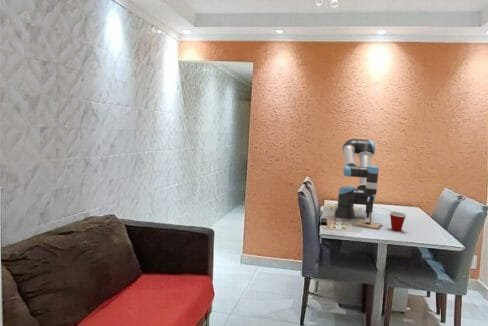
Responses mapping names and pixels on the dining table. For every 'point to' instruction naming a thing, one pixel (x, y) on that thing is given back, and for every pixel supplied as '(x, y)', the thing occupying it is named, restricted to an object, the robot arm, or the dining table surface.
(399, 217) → the plastic cup
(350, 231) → the dining table surface
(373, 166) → the robot arm
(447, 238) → the dining table surface
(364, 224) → the lid
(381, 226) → the mat
